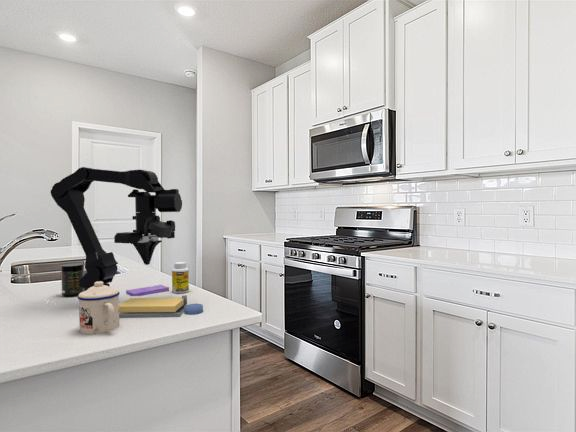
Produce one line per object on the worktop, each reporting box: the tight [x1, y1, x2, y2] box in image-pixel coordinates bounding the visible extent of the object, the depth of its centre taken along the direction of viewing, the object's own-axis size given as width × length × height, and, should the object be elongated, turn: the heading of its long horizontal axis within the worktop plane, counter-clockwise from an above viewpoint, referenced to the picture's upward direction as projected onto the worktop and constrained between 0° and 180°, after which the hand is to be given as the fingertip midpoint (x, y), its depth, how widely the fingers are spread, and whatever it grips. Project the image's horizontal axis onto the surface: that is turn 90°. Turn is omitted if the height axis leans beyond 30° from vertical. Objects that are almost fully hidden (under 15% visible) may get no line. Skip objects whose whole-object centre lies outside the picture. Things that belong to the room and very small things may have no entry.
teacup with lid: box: [77, 281, 120, 335], centre depth 90 cm, size 12×9×12 cm
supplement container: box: [60, 262, 85, 298], centre depth 127 cm, size 7×7×10 cm
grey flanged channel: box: [119, 304, 187, 319], centre depth 103 cm, size 18×9×1 cm, turn 91°
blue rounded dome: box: [183, 303, 204, 316], centre depth 104 cm, size 5×5×2 cm
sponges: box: [125, 284, 170, 297], centre depth 130 cm, size 7×13×2 cm, turn 132°
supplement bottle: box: [171, 261, 190, 294], centre depth 130 cm, size 6×6×10 cm
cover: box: [119, 294, 188, 313], centre depth 104 cm, size 17×9×2 cm, turn 89°
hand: (147, 264), depth 112 cm, fingers closed
